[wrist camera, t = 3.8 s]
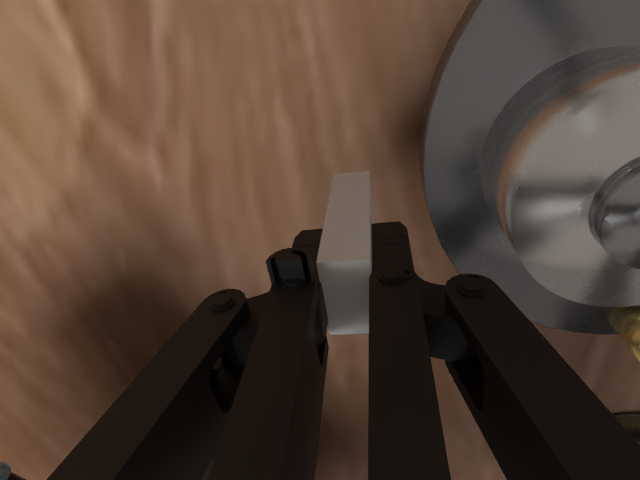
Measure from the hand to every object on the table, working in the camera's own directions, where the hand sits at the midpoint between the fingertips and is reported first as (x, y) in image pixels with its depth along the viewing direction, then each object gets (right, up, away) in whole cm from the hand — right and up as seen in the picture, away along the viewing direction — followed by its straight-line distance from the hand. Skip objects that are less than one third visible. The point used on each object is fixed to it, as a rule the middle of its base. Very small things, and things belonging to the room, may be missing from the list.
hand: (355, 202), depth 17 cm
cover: (+10, +2, +1) cm, 11 cm away
